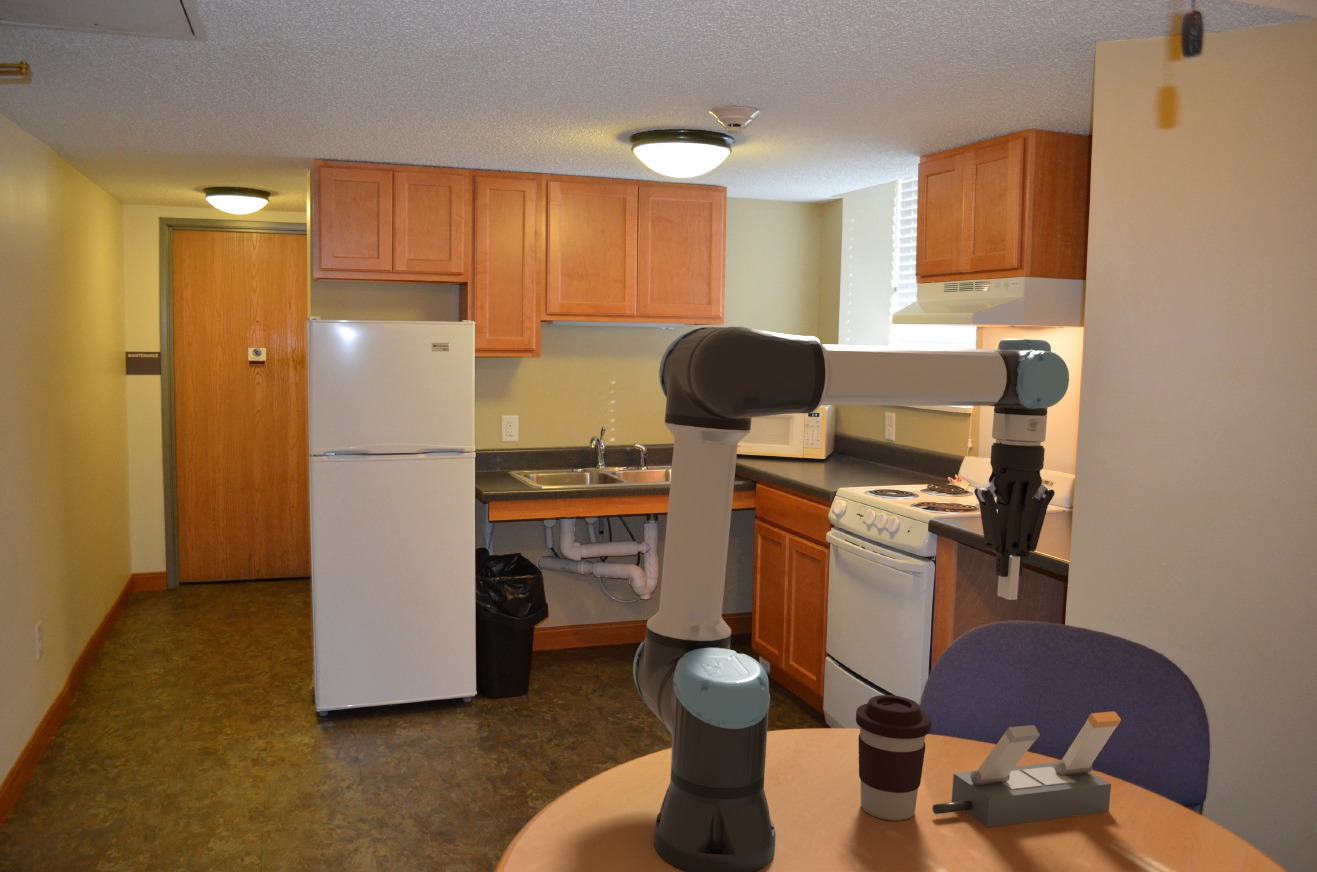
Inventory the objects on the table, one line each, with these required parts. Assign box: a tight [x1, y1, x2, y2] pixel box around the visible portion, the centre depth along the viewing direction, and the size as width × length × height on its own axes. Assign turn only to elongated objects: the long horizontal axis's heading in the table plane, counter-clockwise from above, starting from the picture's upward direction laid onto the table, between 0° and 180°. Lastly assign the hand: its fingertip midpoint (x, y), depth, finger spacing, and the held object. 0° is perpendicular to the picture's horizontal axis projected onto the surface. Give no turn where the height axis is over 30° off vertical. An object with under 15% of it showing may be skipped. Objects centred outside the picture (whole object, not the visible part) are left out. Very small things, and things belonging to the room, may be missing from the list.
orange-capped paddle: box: [1055, 711, 1122, 775], centre depth 135 cm, size 5×2×12 cm
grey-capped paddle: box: [971, 724, 1041, 785], centre depth 130 cm, size 5×2×12 cm
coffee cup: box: [855, 694, 932, 821], centre depth 132 cm, size 10×10×15 cm
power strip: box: [931, 761, 1112, 828], centre depth 135 cm, size 26×8×4 cm, turn 108°
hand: (1007, 597), depth 147 cm, fingers closed
